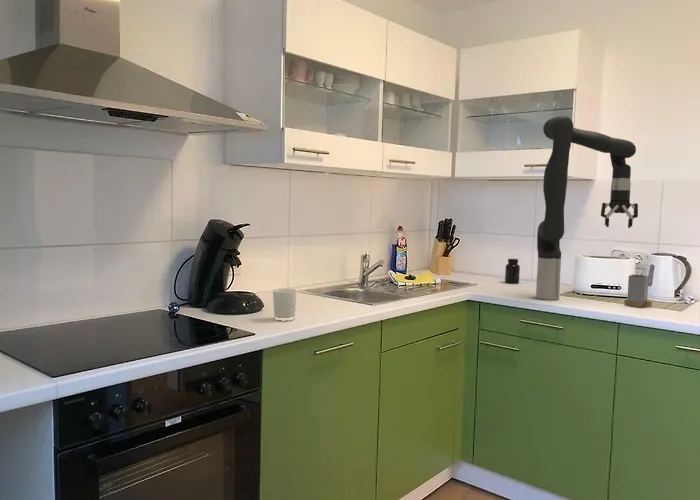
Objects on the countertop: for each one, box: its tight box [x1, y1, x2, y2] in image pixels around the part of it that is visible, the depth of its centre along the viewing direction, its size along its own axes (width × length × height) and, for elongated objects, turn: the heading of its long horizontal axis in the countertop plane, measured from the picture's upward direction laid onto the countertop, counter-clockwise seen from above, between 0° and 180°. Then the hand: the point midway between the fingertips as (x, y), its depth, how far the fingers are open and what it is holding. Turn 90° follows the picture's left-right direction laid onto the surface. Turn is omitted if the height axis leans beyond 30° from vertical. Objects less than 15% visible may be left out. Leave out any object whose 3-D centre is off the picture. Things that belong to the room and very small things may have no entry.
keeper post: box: [624, 299, 653, 309], centre depth 234 cm, size 7×7×10 cm
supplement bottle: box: [504, 258, 521, 285], centre depth 290 cm, size 7×7×12 cm
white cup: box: [272, 288, 297, 318], centre depth 199 cm, size 8×8×10 cm
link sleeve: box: [626, 274, 650, 303], centre depth 233 cm, size 6×6×10 cm
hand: (618, 227), depth 251 cm, fingers open, 8 cm apart
